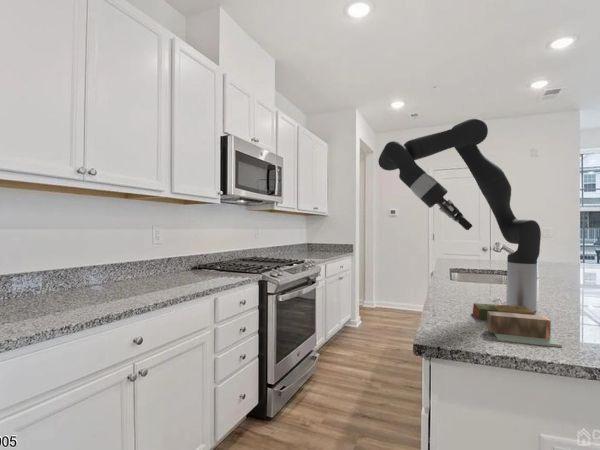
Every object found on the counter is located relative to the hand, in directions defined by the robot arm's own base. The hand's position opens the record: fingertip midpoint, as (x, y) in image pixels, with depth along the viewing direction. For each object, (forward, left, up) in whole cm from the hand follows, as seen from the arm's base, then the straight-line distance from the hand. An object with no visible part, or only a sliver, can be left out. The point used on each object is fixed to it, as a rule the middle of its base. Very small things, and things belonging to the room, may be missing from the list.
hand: (469, 228), depth 104 cm
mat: (+10, +10, -30) cm, 33 cm away
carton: (-8, +14, -30) cm, 34 cm away
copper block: (+8, +2, -27) cm, 28 cm away
